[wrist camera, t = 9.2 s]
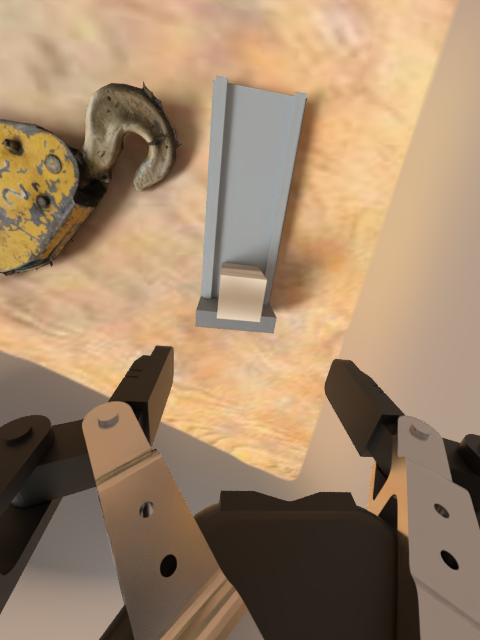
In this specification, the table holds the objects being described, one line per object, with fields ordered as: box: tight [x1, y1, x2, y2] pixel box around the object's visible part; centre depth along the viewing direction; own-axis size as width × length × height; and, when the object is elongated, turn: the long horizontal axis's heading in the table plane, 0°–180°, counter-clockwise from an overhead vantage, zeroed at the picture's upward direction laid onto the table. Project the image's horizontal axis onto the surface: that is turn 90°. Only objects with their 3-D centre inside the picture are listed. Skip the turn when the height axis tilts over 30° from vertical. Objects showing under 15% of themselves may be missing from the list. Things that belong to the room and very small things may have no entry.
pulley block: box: [0, 82, 181, 276], centre depth 22 cm, size 14×6×30 cm
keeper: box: [217, 262, 267, 322], centre depth 25 cm, size 4×4×7 cm
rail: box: [195, 76, 307, 333], centre depth 24 cm, size 23×9×6 cm, turn 173°
